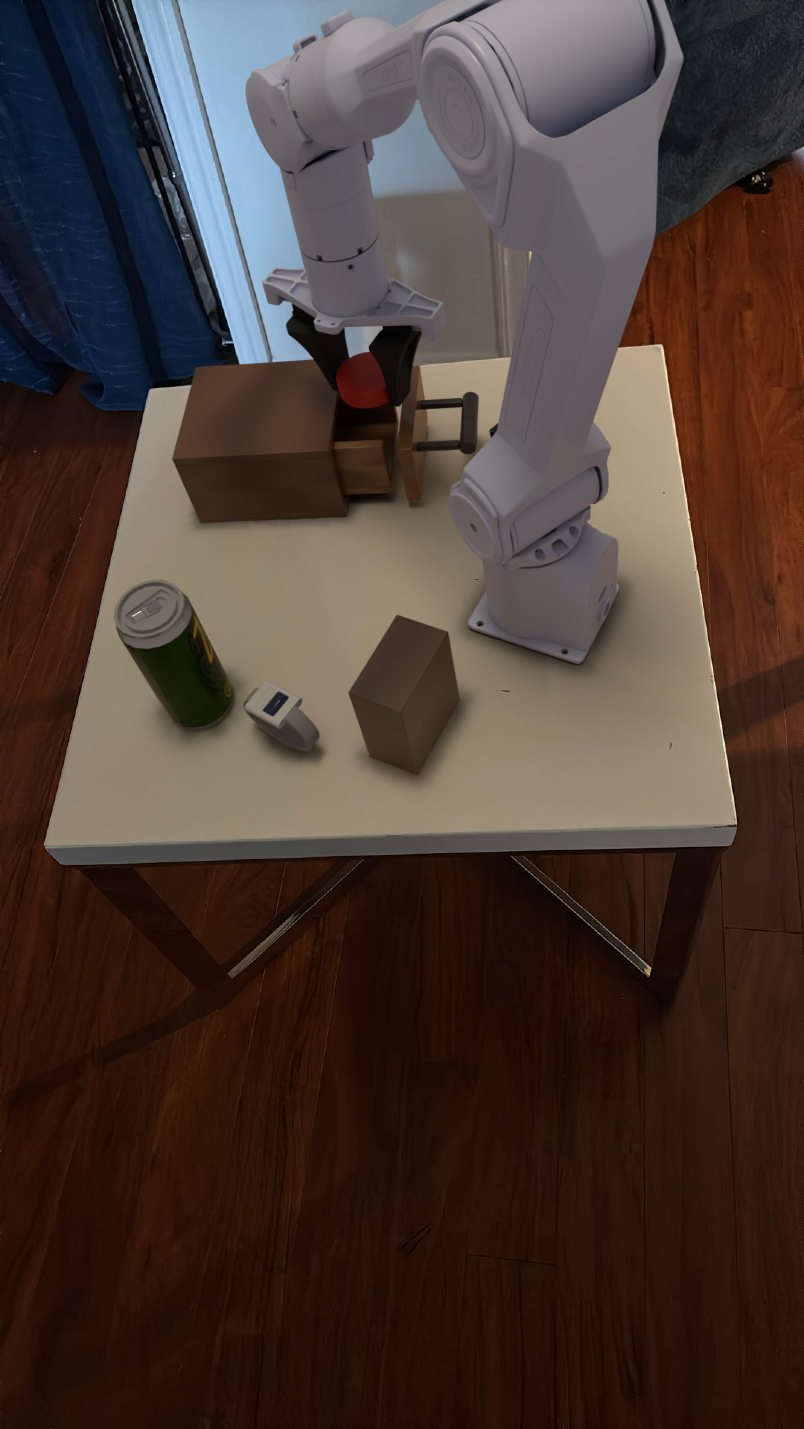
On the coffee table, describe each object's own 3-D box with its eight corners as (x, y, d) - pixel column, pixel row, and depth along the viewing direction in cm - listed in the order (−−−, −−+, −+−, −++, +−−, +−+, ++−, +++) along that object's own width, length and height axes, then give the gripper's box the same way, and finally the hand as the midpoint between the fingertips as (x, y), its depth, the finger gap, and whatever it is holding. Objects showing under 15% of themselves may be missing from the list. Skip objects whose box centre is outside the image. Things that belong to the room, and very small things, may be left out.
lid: (411, 373, 84) (408, 358, 83) (382, 414, 82) (379, 399, 81) (358, 360, 86) (354, 345, 84) (328, 400, 84) (324, 386, 82)
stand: (460, 699, 77) (448, 631, 70) (417, 775, 74) (400, 712, 67) (412, 682, 79) (396, 614, 72) (369, 756, 76) (347, 692, 69)
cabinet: (358, 425, 95) (343, 356, 88) (346, 516, 89) (328, 450, 82) (220, 433, 97) (195, 366, 90) (199, 522, 91) (171, 458, 85)
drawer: (482, 414, 92) (477, 361, 87) (479, 497, 87) (473, 445, 82) (297, 425, 94) (281, 374, 90) (282, 506, 89) (265, 456, 84)
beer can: (187, 745, 79) (130, 653, 69) (156, 698, 81) (97, 603, 71) (248, 707, 80) (200, 612, 70) (216, 663, 82) (166, 564, 72)
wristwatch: (246, 733, 78) (227, 698, 74) (268, 707, 79) (251, 670, 75) (310, 770, 76) (294, 735, 72) (332, 741, 77) (318, 705, 73)
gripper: (223, 253, 74) (270, 403, 85) (403, 291, 68) (427, 444, 80) (274, 196, 77) (313, 348, 88) (450, 228, 71) (467, 385, 83)
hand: (370, 390), depth 84 cm, fingers closed on lid, 5 cm apart
